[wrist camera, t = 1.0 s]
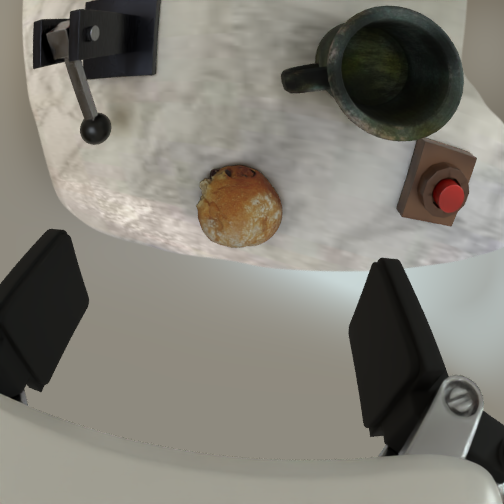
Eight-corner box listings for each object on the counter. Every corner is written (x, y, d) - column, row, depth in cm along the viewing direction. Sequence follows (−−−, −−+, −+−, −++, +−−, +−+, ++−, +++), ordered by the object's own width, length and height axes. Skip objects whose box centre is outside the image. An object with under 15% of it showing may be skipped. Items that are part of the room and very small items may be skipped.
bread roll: (217, 218, 45) (220, 269, 41) (180, 173, 37) (177, 229, 33) (285, 198, 42) (295, 249, 38) (259, 145, 34) (268, 200, 30)
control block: (418, 135, 32) (432, 146, 29) (468, 151, 32) (484, 163, 29) (396, 208, 38) (406, 224, 35) (445, 218, 38) (457, 234, 35)
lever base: (156, 74, 30) (99, 91, 20) (88, 78, 30) (19, 102, 20) (161, -8, 24) (105, -28, 14) (90, 3, 24) (19, -1, 14)
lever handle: (119, 129, 30) (107, 151, 29) (93, 129, 30) (80, 151, 29) (89, 13, 18) (68, 30, 16) (58, 21, 18) (36, 38, 16)
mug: (415, 106, 30) (467, 137, 20) (291, 122, 33) (298, 157, 23) (400, 16, 24) (454, 8, 14) (268, 29, 27) (264, 18, 17)
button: (438, 175, 31) (444, 182, 30) (461, 182, 31) (468, 188, 30) (429, 202, 33) (434, 210, 32) (451, 208, 33) (458, 215, 32)
